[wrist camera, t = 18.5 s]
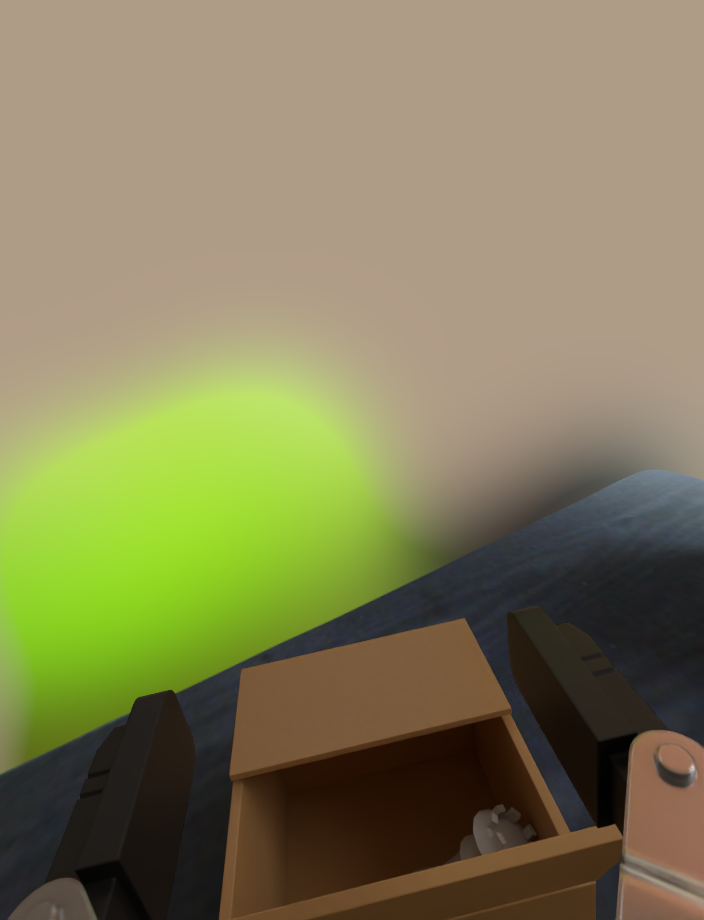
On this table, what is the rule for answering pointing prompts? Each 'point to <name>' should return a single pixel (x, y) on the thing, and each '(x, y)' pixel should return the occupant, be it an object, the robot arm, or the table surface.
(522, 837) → the rook chess piece
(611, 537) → the table surface
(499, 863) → the flap
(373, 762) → the carton
